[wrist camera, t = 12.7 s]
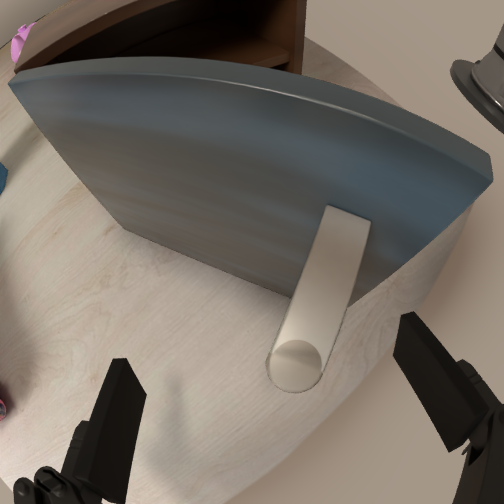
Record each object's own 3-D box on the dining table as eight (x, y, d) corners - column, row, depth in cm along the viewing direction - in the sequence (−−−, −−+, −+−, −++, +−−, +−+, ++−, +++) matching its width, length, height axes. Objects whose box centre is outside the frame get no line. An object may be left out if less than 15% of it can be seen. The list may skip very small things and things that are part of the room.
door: (309, 386, 19) (458, 451, 3) (93, 283, 23) (-61, 174, 7) (341, 303, 22) (490, 153, 5) (128, 219, 25) (19, 70, 9)
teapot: (50, 52, 48) (35, 21, 36) (11, 79, 46) (-7, 51, 34) (57, 34, 55) (45, 8, 43) (22, 56, 53) (9, 32, 41)
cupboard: (296, 126, 29) (308, -33, 12) (124, 219, 25) (13, 71, 9) (227, 69, 34) (213, -47, 17) (93, 135, 30) (31, 26, 14)
